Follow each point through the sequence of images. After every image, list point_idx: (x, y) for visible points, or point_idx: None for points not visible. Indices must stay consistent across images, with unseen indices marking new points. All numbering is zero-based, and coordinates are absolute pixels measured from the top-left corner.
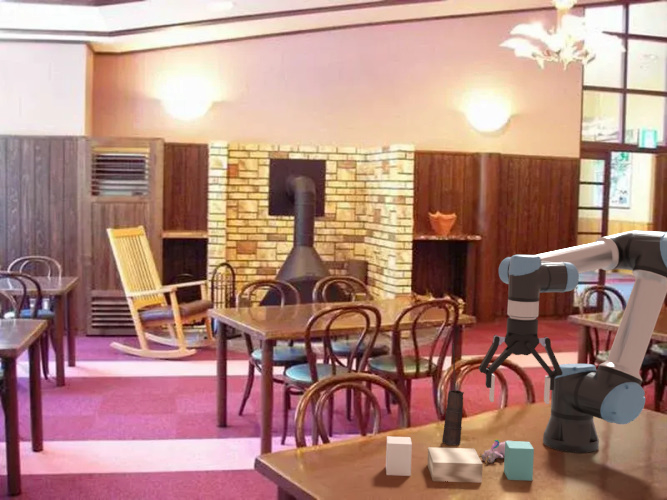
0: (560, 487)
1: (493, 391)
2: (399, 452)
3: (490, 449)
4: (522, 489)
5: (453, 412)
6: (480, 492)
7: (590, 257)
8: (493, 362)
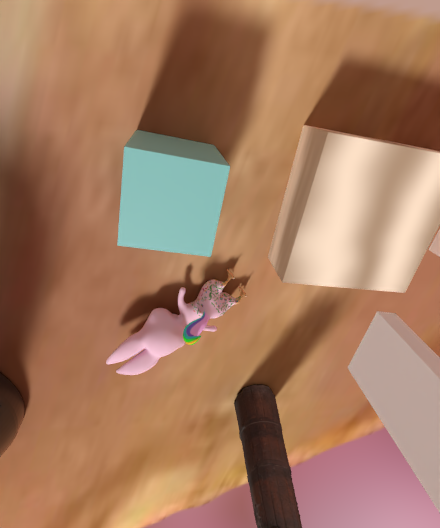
0: (51, 46)
1: (435, 368)
2: None
3: (211, 315)
4: (200, 40)
5: (279, 463)
6: (350, 27)
7: None
8: None
